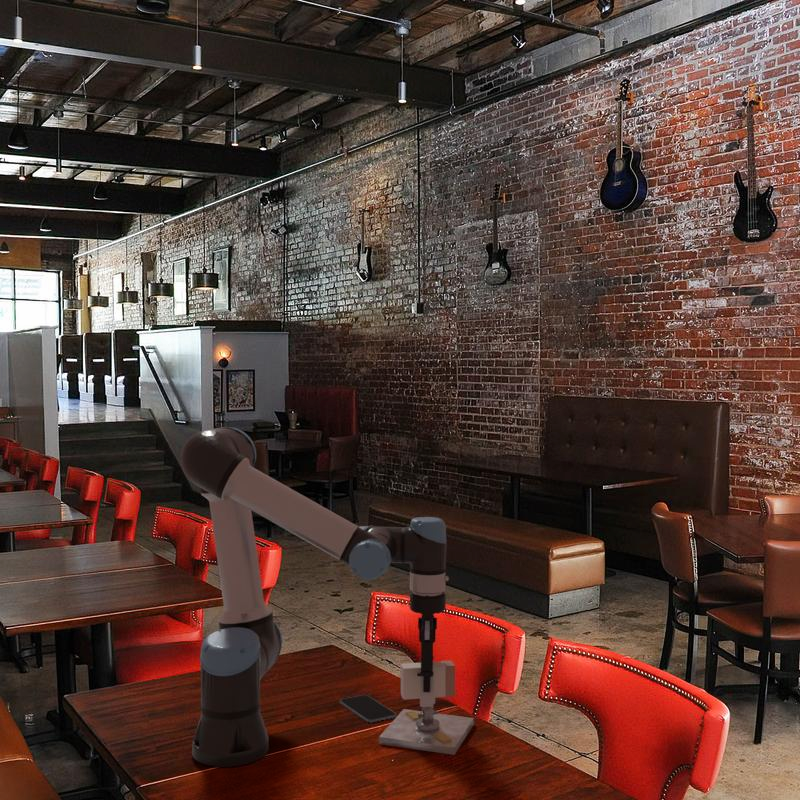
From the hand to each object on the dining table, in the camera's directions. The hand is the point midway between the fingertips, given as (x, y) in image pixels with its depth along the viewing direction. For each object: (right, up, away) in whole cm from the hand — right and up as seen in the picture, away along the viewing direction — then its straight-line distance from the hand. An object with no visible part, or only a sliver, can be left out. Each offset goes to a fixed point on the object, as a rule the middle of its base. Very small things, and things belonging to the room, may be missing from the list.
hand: (426, 701), depth 185 cm
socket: (0, -7, 0) cm, 7 cm away
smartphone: (-13, -7, +14) cm, 21 cm away
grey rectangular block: (0, 0, 0) cm, 0 cm away
